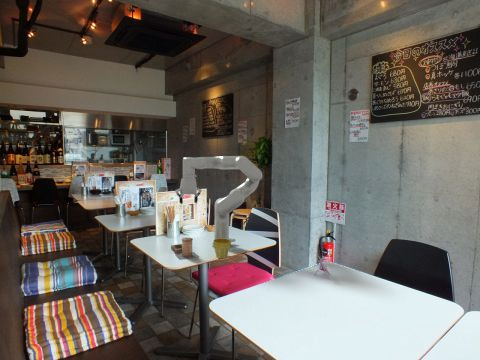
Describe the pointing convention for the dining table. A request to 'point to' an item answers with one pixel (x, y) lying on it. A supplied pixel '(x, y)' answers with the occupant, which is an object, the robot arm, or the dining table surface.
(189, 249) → the brown wooden block
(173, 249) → the holder
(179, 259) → the mat
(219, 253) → the plant pot
